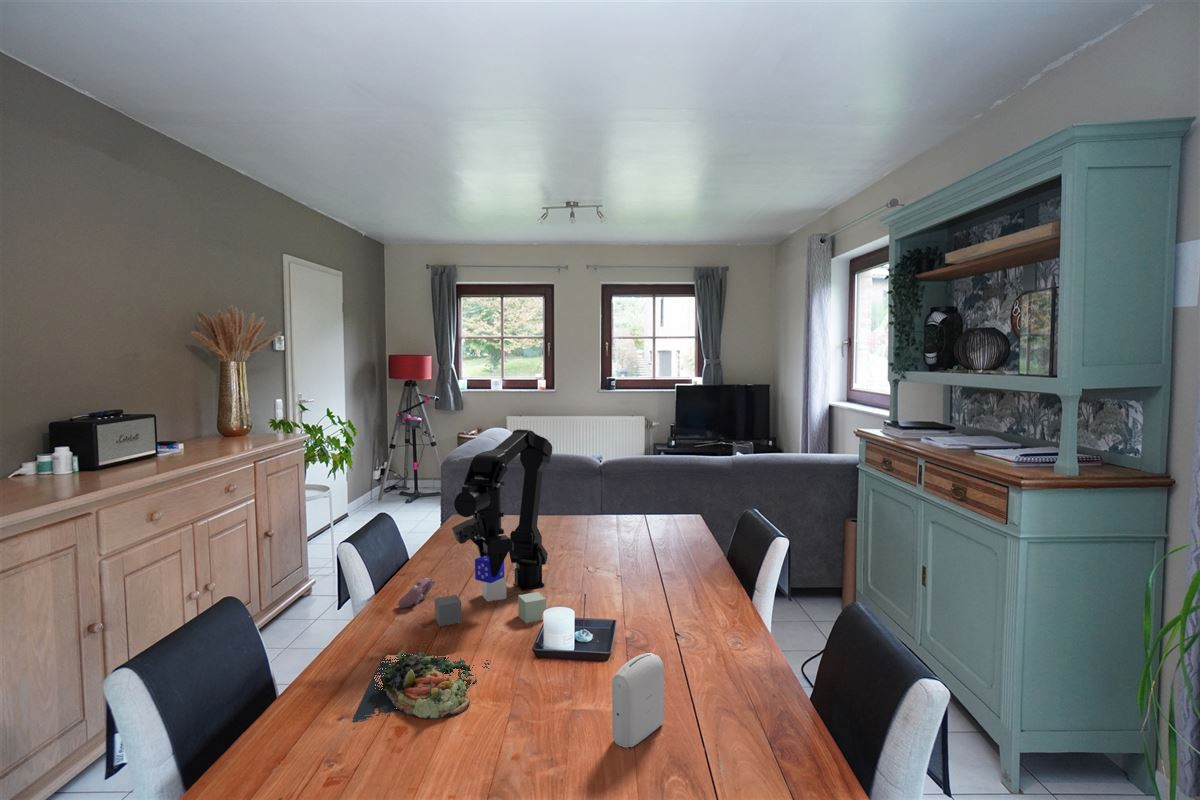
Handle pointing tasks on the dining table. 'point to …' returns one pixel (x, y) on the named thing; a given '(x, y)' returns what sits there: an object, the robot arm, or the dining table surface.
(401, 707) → the plated dish
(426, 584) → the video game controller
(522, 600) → the sage green block
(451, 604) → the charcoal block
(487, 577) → the die
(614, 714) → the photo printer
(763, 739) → the dining table surface
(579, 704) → the dining table surface
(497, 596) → the off-white block
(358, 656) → the dining table surface
